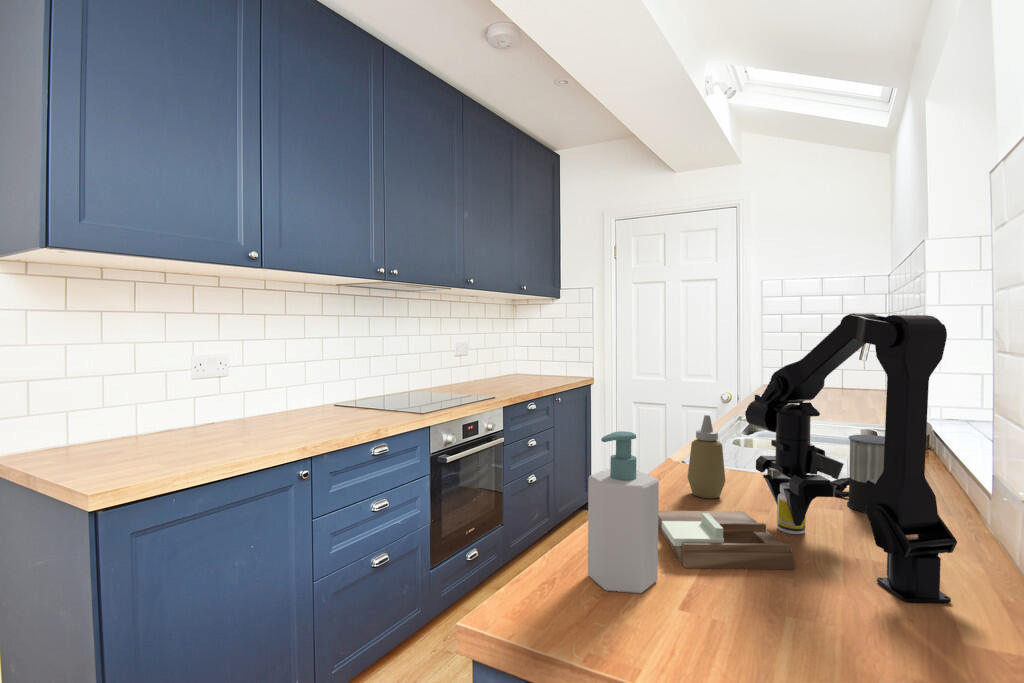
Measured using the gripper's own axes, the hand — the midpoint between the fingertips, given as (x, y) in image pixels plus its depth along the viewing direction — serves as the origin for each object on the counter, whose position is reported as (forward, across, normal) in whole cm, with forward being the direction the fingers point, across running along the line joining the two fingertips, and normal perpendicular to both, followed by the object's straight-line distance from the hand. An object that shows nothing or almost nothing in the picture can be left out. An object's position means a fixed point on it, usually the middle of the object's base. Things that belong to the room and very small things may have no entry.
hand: (791, 520), depth 105 cm
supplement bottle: (+2, 0, 0) cm, 2 cm away
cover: (-1, -11, +22) cm, 24 cm away
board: (+2, -7, +16) cm, 18 cm away
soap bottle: (+2, -21, +35) cm, 41 cm away
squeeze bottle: (+2, +21, +9) cm, 23 cm away
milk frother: (+2, +17, -23) cm, 29 cm away
